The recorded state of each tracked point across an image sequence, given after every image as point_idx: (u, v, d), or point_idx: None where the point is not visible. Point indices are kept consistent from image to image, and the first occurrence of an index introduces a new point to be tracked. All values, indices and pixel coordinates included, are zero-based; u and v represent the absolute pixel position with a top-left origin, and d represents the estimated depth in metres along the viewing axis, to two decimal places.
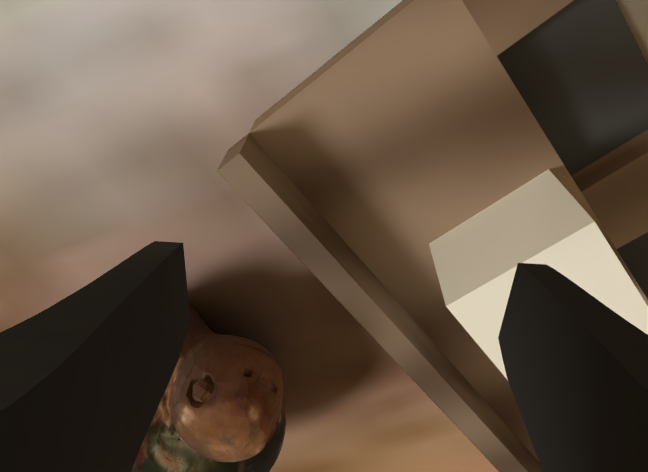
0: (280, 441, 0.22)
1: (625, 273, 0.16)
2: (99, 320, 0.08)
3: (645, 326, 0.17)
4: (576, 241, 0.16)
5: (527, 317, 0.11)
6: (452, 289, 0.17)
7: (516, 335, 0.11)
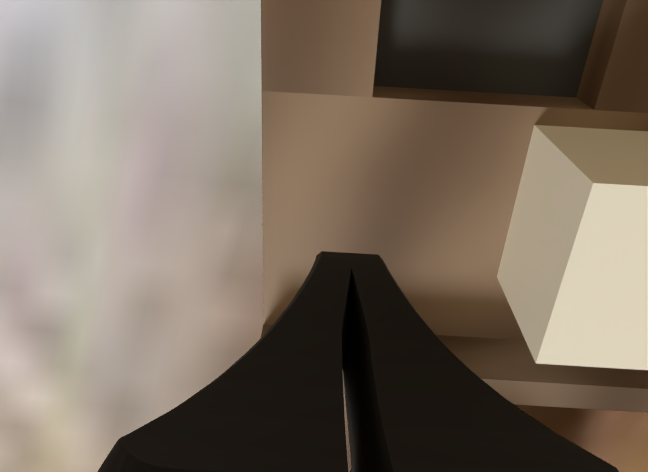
0: None
1: None
2: (337, 334, 0.08)
3: None
4: (597, 214, 0.12)
5: (349, 306, 0.11)
6: (532, 336, 0.14)
7: (346, 325, 0.11)
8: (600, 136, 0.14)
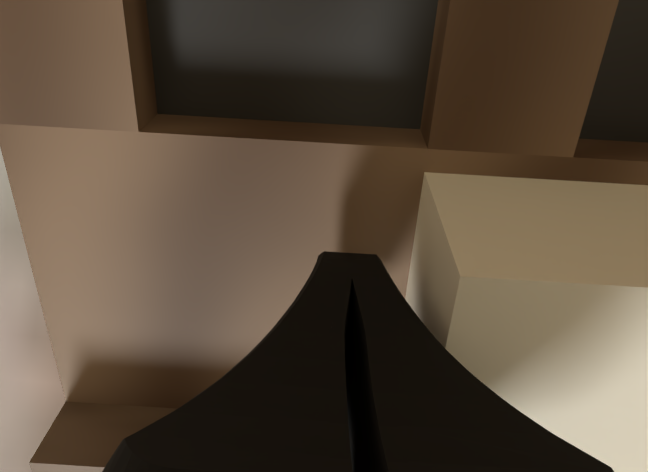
0: None
1: (610, 288, 0.08)
2: (340, 334, 0.08)
3: None
4: (471, 317, 0.08)
5: None
6: None
7: None
8: (505, 190, 0.11)
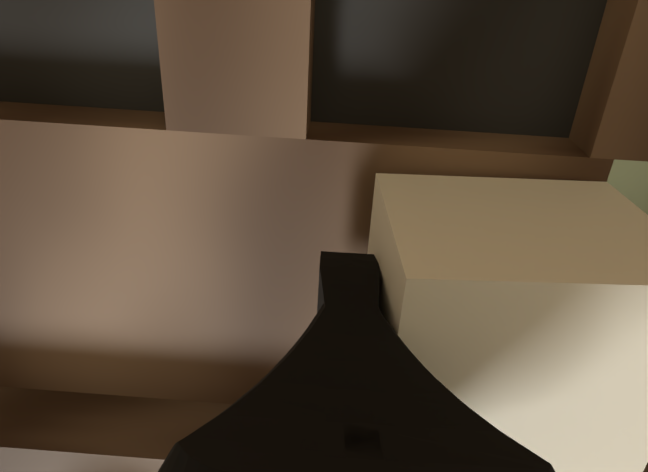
0: None
1: (554, 285, 0.08)
2: (374, 336, 0.08)
3: None
4: (420, 318, 0.08)
5: (318, 305, 0.11)
6: None
7: None
8: (455, 189, 0.11)
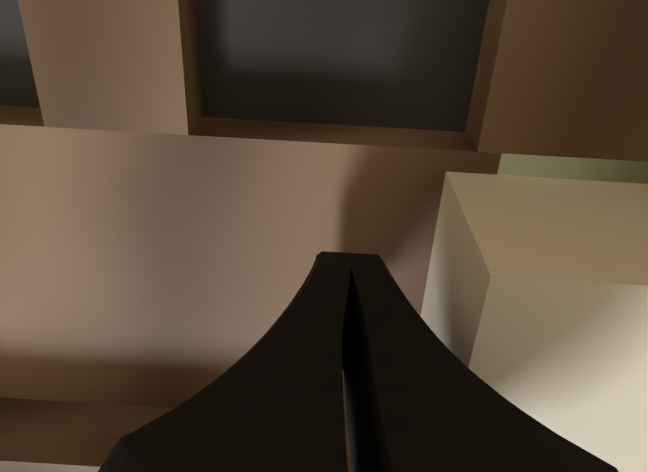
0: None
1: (641, 287, 0.08)
2: (337, 334, 0.08)
3: None
4: (501, 316, 0.08)
5: (349, 306, 0.11)
6: None
7: (346, 325, 0.11)
8: (527, 189, 0.11)
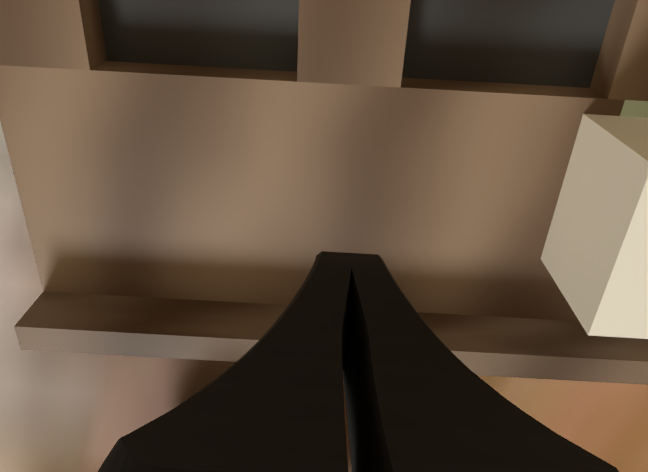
0: None
1: None
2: (337, 334, 0.08)
3: None
4: None
5: (349, 306, 0.11)
6: (583, 310, 0.15)
7: None
8: (646, 124, 0.15)
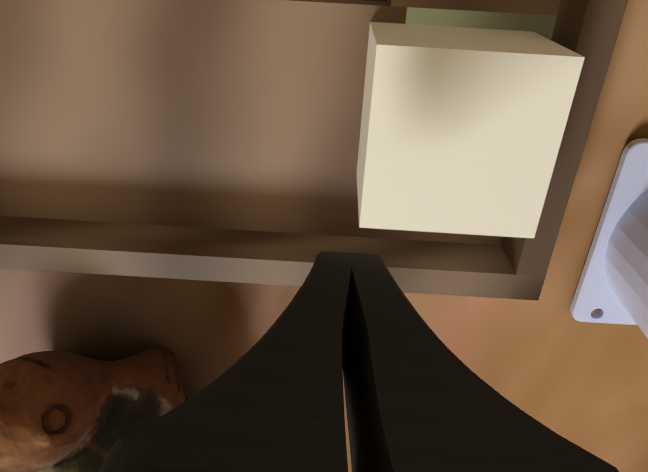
0: (155, 413, 0.21)
1: (468, 51, 0.13)
2: (337, 334, 0.08)
3: (560, 71, 0.13)
4: (386, 75, 0.13)
5: (349, 306, 0.11)
6: (360, 206, 0.16)
7: (346, 325, 0.11)
8: (422, 28, 0.16)
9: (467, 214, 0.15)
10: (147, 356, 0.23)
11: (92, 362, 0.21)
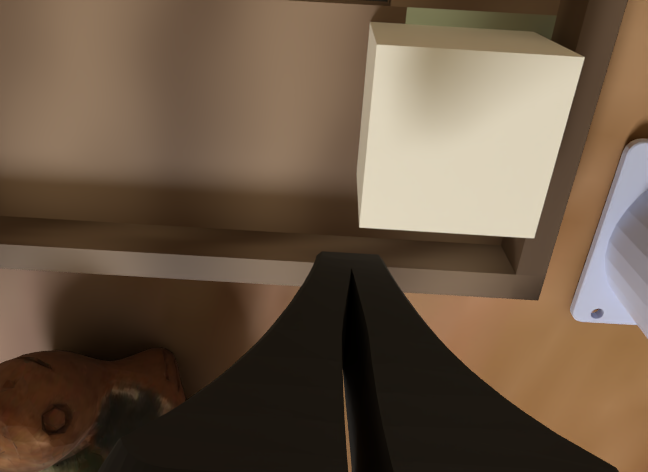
0: (155, 413, 0.21)
1: (468, 51, 0.13)
2: (337, 334, 0.08)
3: (560, 71, 0.13)
4: (386, 75, 0.13)
5: (349, 306, 0.11)
6: (360, 206, 0.16)
7: (346, 325, 0.11)
8: (422, 28, 0.16)
9: (467, 214, 0.15)
10: (147, 356, 0.23)
11: (92, 362, 0.21)
